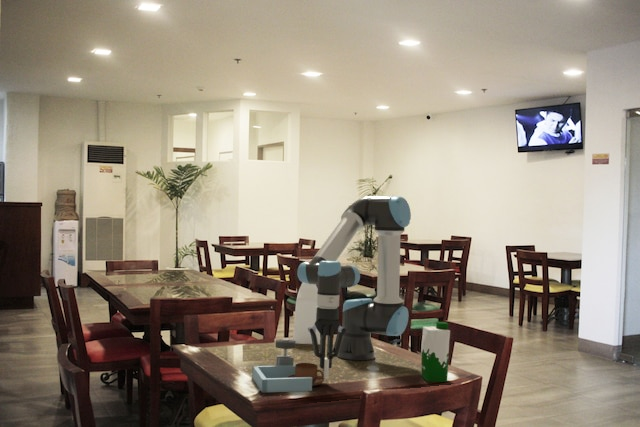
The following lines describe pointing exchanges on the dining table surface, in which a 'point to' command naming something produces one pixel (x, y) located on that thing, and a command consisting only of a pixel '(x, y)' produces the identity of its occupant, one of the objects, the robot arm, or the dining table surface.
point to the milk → (305, 314)
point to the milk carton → (435, 352)
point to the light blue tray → (280, 377)
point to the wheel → (285, 344)
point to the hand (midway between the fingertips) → (325, 377)
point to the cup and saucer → (308, 372)
